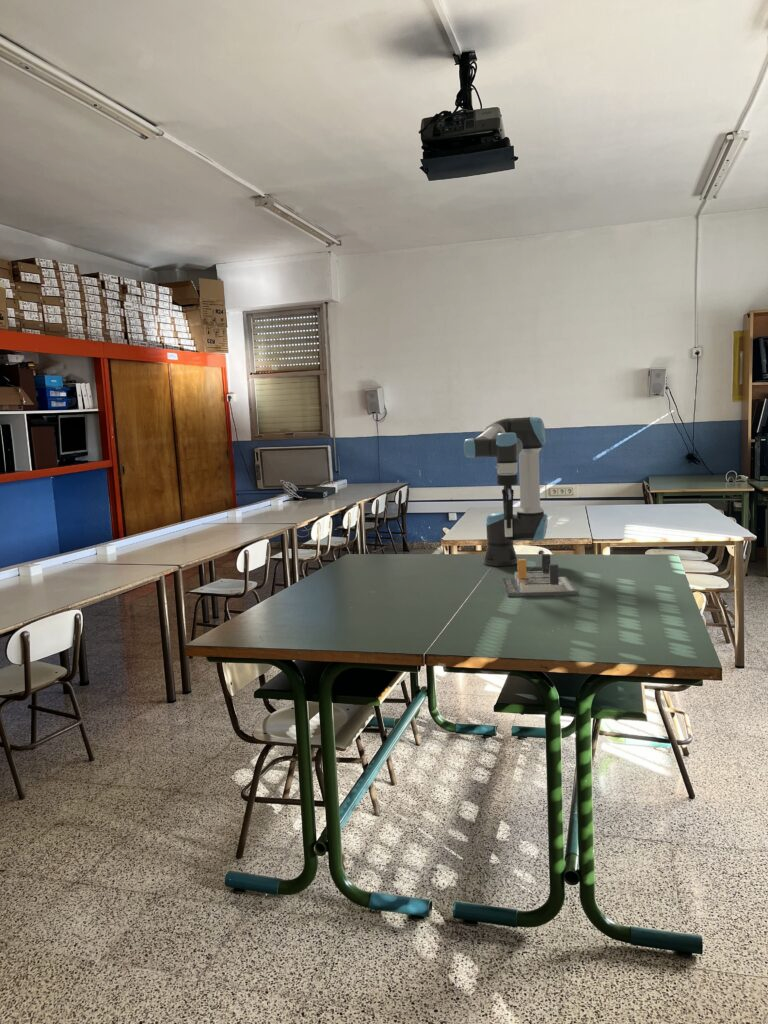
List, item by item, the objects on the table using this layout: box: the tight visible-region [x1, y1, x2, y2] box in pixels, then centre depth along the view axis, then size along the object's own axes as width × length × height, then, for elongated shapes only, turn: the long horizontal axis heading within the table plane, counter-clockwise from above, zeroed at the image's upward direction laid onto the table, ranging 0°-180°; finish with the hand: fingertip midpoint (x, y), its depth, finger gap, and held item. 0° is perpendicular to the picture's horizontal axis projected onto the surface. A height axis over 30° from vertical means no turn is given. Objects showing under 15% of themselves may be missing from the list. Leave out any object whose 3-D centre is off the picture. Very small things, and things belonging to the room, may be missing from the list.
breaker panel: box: [501, 553, 578, 598], centre depth 284 cm, size 25×25×11 cm
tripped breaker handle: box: [517, 558, 527, 578], centre depth 285 cm, size 2×3×7 cm
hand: (508, 536), depth 283 cm, fingers closed
